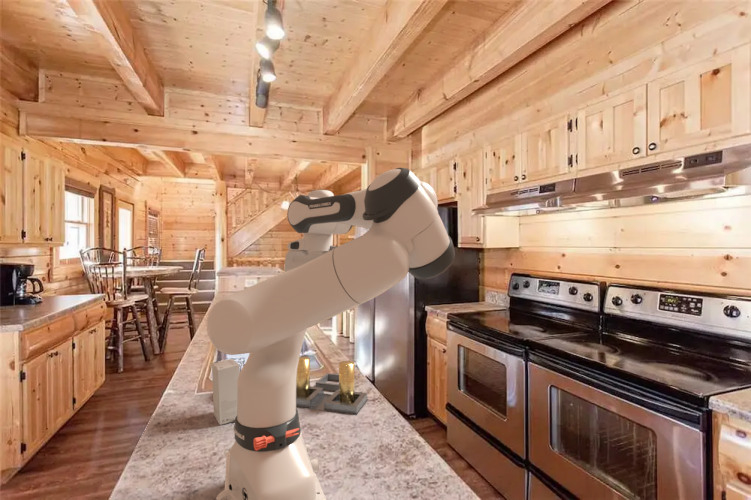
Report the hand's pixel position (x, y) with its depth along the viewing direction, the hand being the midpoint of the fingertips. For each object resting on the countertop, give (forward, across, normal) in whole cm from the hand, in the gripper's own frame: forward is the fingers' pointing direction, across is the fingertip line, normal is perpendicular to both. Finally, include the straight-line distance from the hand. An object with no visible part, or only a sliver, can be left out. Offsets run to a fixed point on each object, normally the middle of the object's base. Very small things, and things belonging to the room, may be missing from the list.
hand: (315, 291), depth 113 cm
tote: (+33, -3, -12) cm, 35 cm away
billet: (+32, -12, +1) cm, 34 cm away
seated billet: (+32, +2, +1) cm, 32 cm away
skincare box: (+34, +16, +17) cm, 42 cm away
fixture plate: (+33, -5, +1) cm, 33 cm away
